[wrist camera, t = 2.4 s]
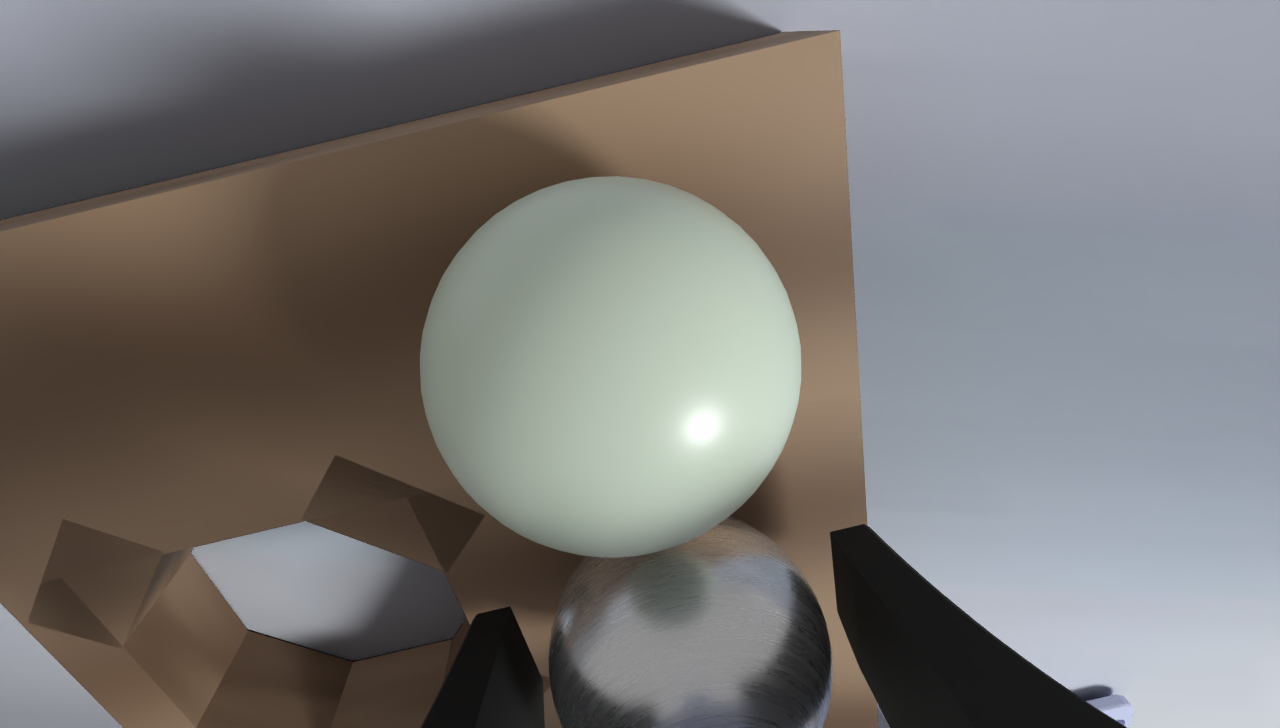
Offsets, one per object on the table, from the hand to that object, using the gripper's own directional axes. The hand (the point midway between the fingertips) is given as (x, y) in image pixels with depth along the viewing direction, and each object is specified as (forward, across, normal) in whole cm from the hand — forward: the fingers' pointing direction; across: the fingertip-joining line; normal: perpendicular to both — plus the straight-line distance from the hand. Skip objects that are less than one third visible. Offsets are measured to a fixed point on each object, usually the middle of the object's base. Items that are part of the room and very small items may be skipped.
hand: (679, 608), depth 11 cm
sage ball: (-1, 0, -6) cm, 6 cm away
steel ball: (-1, 0, 0) cm, 1 cm away
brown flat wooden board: (+4, +4, 0) cm, 6 cm away
